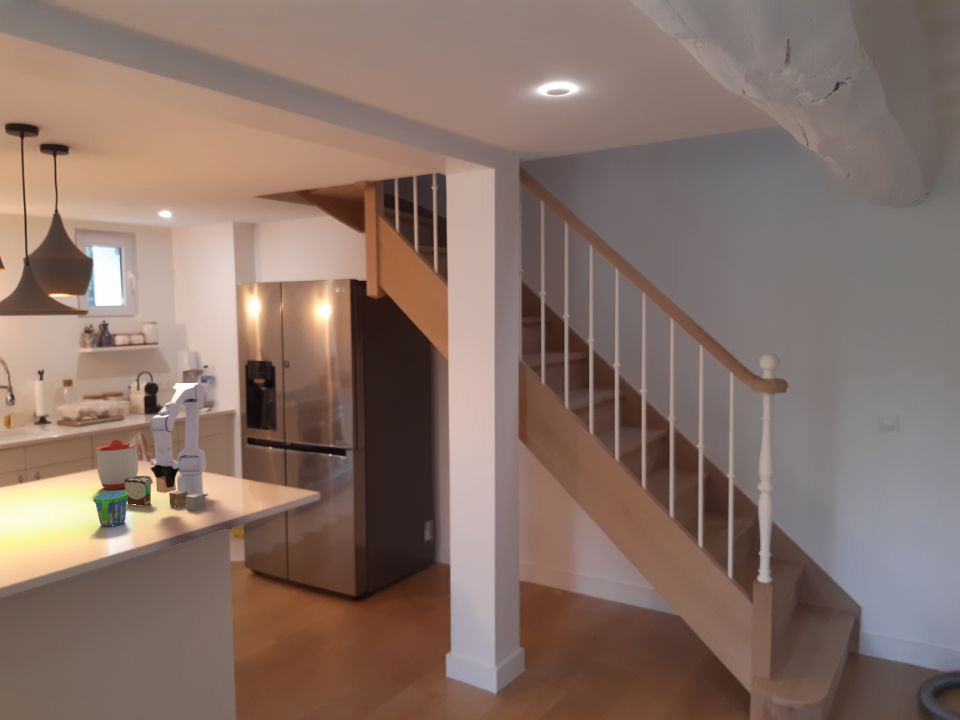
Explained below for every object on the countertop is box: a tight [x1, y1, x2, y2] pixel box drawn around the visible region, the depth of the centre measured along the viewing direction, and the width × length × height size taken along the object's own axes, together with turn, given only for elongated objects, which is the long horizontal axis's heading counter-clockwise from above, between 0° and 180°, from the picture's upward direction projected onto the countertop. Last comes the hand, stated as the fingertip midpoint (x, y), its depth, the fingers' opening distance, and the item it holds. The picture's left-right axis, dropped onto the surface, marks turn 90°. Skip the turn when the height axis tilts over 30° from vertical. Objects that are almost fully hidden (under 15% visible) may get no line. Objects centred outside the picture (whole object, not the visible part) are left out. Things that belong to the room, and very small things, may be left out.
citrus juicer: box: [95, 438, 141, 490], centre depth 305 cm, size 16×17×20 cm
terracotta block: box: [155, 476, 177, 494], centre depth 262 cm, size 4×4×5 cm
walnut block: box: [168, 489, 188, 508], centre depth 272 cm, size 4×4×5 cm
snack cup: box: [92, 490, 128, 527], centre depth 250 cm, size 16×10×10 cm
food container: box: [123, 475, 154, 507], centre depth 276 cm, size 12×6×10 cm, turn 65°
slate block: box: [185, 493, 206, 512], centre depth 266 cm, size 4×4×5 cm
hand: (166, 486), depth 262 cm, fingers closed on terracotta block, 4 cm apart
